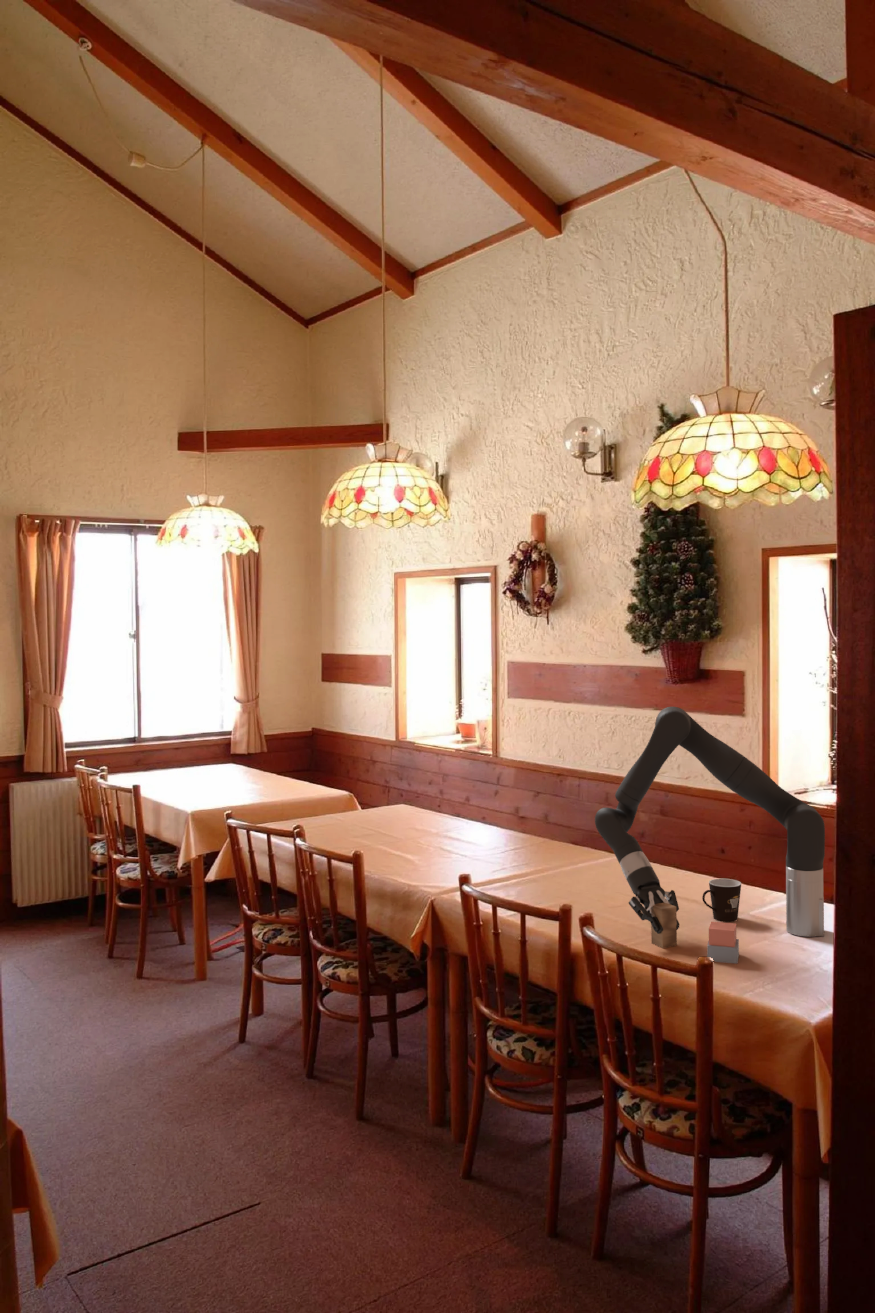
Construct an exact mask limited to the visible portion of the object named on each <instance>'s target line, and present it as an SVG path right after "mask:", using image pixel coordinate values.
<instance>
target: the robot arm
mask: <svg viewBox="0 0 875 1313" xmlns="http://www.w3.org/2000/svg"><path fill="white" fill-rule="evenodd" d="M678 746H680V747H681V748H683V749H684V750H686V751H688V752H689V753H690V754H691V755H692V756H694V757H695V759H697V760H698V762H700V763H701V764H702V765H703V767H704V768H705V769H706V770H707V771H708V772H710V774H711V775H712V776H714V778H716V779H717V781H719V782H720V783H721V784H723V785H724V786H725V787H727V788H728V789H729V790H731V791H732V792H733V793H735V794H736V795H738V796H740V797H741V798H742V799H745V800H746V801H748V802H750V803H752V804H754V805H756V806H757V807H760V808H762V809H763V810H764V811H766V812H767V813H769V815H771V816H772V817H774V819H775V820H777V821H778V822H779V823H780V824H781V825H782V826H783V827H784V829H785V830H786V833H787V834H786V842H787V843H786V845H787V846H786V847H787V848H786V856H785V893H786V894H785V900H786V901H785V904H786V905H785V906H786V907H785V908H786V909H785V910H786V912H785V914H786V916H785V917H786V920H785V921H786V922H785V925H786V932H788V933H790V934H792V935H795V936H798V937H800V936H801V937H808V938H809V937H811V938H812V937H825V910H824V909H825V908H824V907H825V904H824V903H825V901H824V861H825V856H826V855H825V854H826V852H825V851H826V850H825V849H826V846H825V845H826V837H825V836H826V832H825V831H826V828H825V821H824V818H823V817H822V815H821V814H820V813H819V812H818V811H817V809H815V807H813V806H811V805H809V804H808V803H806V802H804V801H803V800H801V799H799V798H797V797H795V796H794V795H792V794H791V793H789V792H787V791H786V790H785V789H783V788H782V787H781V786H779V785H778V783H777V782H775V781H774V780H773V779H772V778H771V777H770V776H769V775H768V774H767V773H766V772H764V771H763V770H762V769H761V768H760V767H759V766H758V765H756V764H755V763H754V762H752V761H751V760H750V759H748V758H747V757H746V756H744V755H743V754H742V753H740V752H738V751H737V750H735V748H733V747H732V746H730V745H729V744H727V743H725V742H723V741H722V740H720V739H718V738H717V737H716V736H714V735H712V733H710V732H708V731H707V730H706V729H704V727H703V726H701V725H700V724H699V723H698V722H697V721H696V720H695V719H693V718H692V716H691V715H689V713H687V711H685V710H684V709H683V708H680V707H678V706H667V707H665V708H663V709H661V710H660V711H659V712H658V713H657V717H656V719H655V722H654V728H653V730H652V733H651V735H650V738H649V740H648V743H647V744H646V747H645V748H644V750H643V751H642V753H641V754H640V755H639V757H638V758H637V760H636V761H635V762H634V764H633V765H632V766H631V767H630V769H629V770H628V772H627V774H626V775H625V776H624V778H623V780H622V781H621V783H620V785H619V786H618V787H617V789H616V791H615V793H614V794H615V795H614V796H615V799H616V800H617V802H618V804H617V806H616V808H612V807H602V808H600V809H599V810H597V811H596V813H595V816H594V825H595V827H596V828H595V829H596V830H597V832H598V833H599V835H600V837H602V839H603V841H605V843H606V844H607V845H608V847H609V848H610V849H611V850H612V851H613V853H614V855H615V857H616V860H617V861H618V864H619V866H620V868H621V871H622V874H623V875H624V877H625V880H626V882H627V883H628V885H629V887H630V889H631V892H632V893H633V895H635V896H632V897H631V899H630V900H629V901H628V904H629V906H630V907H631V909H632V911H634V912H635V914H636V915H637V916H638V917H639V918H640V920H641V921H648V922H649V923H650V926H651V925H652V927H653V929H654V931H655V932H657V934H660V933H661V932H662V931H663V927H662V926H661V924H660V922H659V920H658V918H657V917H655V916H656V914H655V912H654V910H653V905H655V904H658V903H668V904H671V905H674V906H676V913H677V912H679V910H680V908H679V907H680V906H679V904H678V903H679V902H678V899H677V896H676V892H675V890H673V889H671V890H670V891H666V890H664V889H663V887H662V886H661V884H660V879H659V878H658V876H657V873H656V872H655V870H654V868H653V866H652V864H651V862H650V860H649V859H648V857H647V855H646V854H645V853H644V851H643V849H642V847H641V845H640V843H639V842H638V839H636V838H635V836H633V835H632V834H630V833H629V831H630V829H631V828H632V826H633V824H634V821H635V818H636V815H637V812H638V808H639V805H640V804H641V802H642V800H643V799H644V797H645V796H646V794H647V793H648V791H649V789H650V788H651V786H652V784H653V782H654V780H655V778H656V777H657V775H658V774H659V772H660V771H661V769H662V767H663V765H664V764H665V763H666V761H667V759H668V758H669V757H670V756H671V754H672V753H673V752H674V751H675V749H677V748H678ZM676 929H677V930H679V929H680V922H679V920H678V919H677V925H676Z"/></svg>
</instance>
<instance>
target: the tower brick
mask: <svg viewBox="0 0 875 1313" xmlns="http://www.w3.org/2000/svg"><path fill="white" fill-rule="evenodd" d="M736 939H737V923H735V922H721V921H711V922H710V924H709V927H708V941H709V945H715V946H726V947H735V944H736Z"/></svg>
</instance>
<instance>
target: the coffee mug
mask: <svg viewBox="0 0 875 1313" xmlns="http://www.w3.org/2000/svg"><path fill="white" fill-rule="evenodd" d="M708 884H709V886H708V887H709V889H707V890H705V891H704V892H703V893H702V902H703V904H704V905H705V906H706V907H708V908H709V909H711V910H712V911H711V912H712V917H713V920H715V921H716V922H721V921H723V922H722V923H735V922H737V921H738V920H739V919H738V918H739V910H740V909H739V908H740V907H739V906H740V900H741V892H742V890H741V889H742V882H741V881H739V880H737V879H732V878H731V879H730V878H713V879H710V880H709V881H708ZM708 893H709V894H710V902H711V905H710V904H708V903H707V901H706V899H705V898H706V895H707V894H708ZM736 920H737V921H736Z"/></svg>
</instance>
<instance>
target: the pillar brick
mask: <svg viewBox="0 0 875 1313" xmlns="http://www.w3.org/2000/svg"><path fill="white" fill-rule="evenodd" d="M653 910H654V912H655V914H656V916H655V917H657V918H658V920H659V922H660V924H661V926H662V927H663V931H662V932H661V933H660V934H657V932H655V931H654V929H653V927H652V925H651V924H650V927H651V932H650V934H651V937H650V938H651V944H652V945H654V944H655V945H654V946H656V945H657V946H656V947H659V946H660V947H659V948H662V949H666V948H671V947H670V946H672V947H676V946H678V937H677V936H678V933H677V932H678V929H676V925H677V920H678V918H677V912H676V906H674V905H671V904H668V903H658V904H655V905H653Z"/></svg>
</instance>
